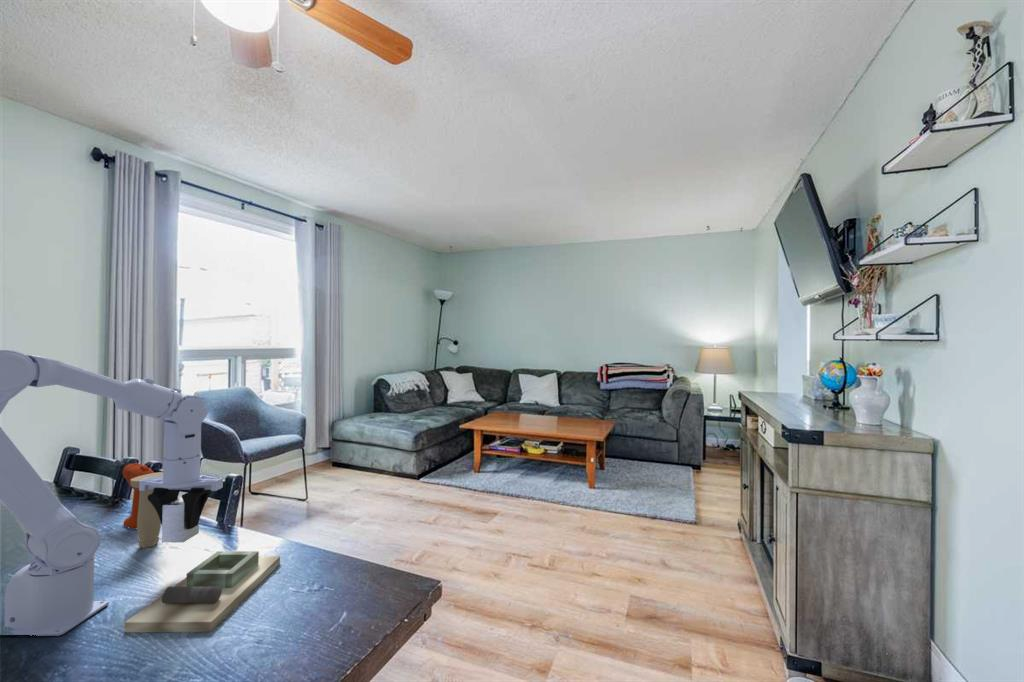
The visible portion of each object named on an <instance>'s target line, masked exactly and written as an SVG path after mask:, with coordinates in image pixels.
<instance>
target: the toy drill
mask: <svg viewBox="0 0 1024 682" xmlns="http://www.w3.org/2000/svg"><path fill="white" fill-rule="evenodd" d="M114 463H115V464H116V465H118V466H119V470H120V471H121V472H122V475H123V478H124V479H125V480H126V482H127V483H128V484H129V486H130V487H131V489H133V494H132V495H133V496H132V503H131V514H130V516H128V517H126V518H125V519H124V521H123V526H124V525H125V526H126V527H125V526H124V527H125V528H127V527H129V528H128V529H130V528H137V517H138V508H139V496H140V491H139V488H135V487H132V486H131V484H130V481H131V479H132V478H135V477H138V476H142V475H146V474H151V473H155V472H154V471H153V470H152V469H151V468H150V467H148V465H146V464H141V463H139V462H138V463H137V462H135V463H132V462H129V461H128V462H123V461H121V460H119V459H116V460H115V461H114Z"/></svg>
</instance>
